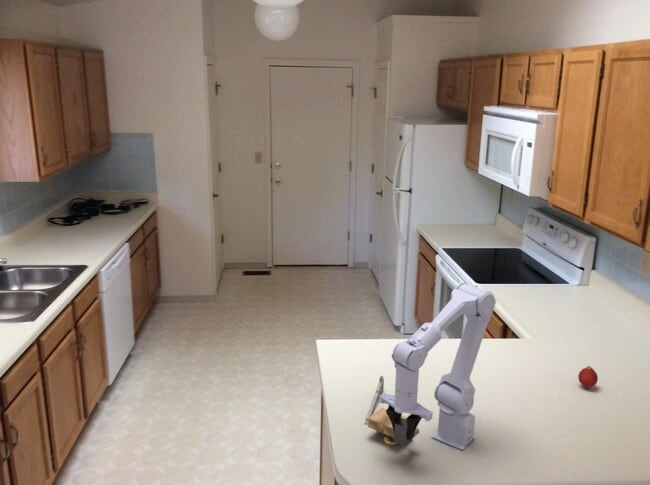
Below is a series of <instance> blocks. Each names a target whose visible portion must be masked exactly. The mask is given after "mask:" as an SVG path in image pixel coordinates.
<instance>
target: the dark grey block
mask: <svg viewBox="0 0 650 485" xmlns="http://www.w3.org/2000/svg"><path fill="white" fill-rule="evenodd" d="M407 432H408V426H407V421H406V419H404V418H401V419H400V420H398V421H397V422H396V423H395V431H394V442H395V443H397V444H396V445H399V446H401V447H404V448H406V447H407V446H409V445H410V444H411V443H412V442H413V439H414V438H416V436H417V435H419V433H420V428H418V427H417V428H416V430H415V433H414V437H413V438H412V439H411V440H408V439H407Z"/></svg>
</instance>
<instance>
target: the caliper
mask: <svg viewBox="0 0 650 485" xmlns="http://www.w3.org/2000/svg"><path fill="white" fill-rule="evenodd" d="M378 380H379V382H377V383H378V384H377V386H376V389H375V392H374V396H373V398H372V400H371V404H370V406H369V409H368V411H367V413H366V417H365V420H364V421H365V422H364V425H367V426H368V418H369V417H370V416H372V415H373V414H374V411H375V410H374V409H375V407H376V405H377V402H378V399H379V397H380V395H382V394H383V393H384V390H385V388H384V383H385V378H384V376H383V375H380V377H379V379H378Z"/></svg>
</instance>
